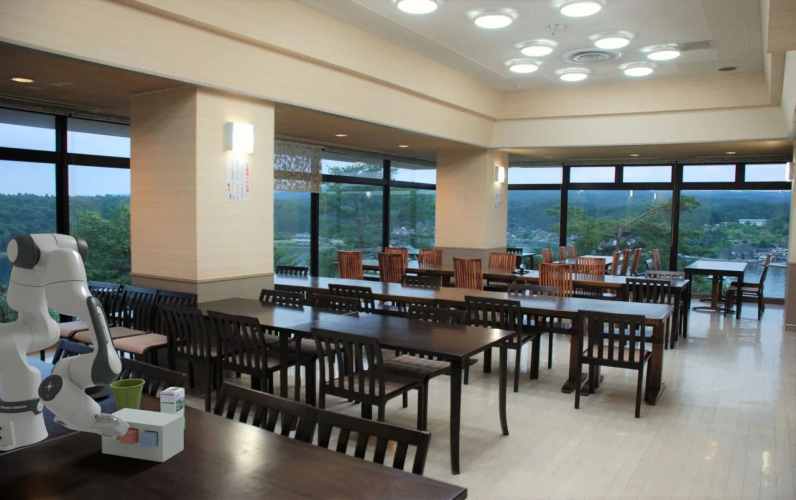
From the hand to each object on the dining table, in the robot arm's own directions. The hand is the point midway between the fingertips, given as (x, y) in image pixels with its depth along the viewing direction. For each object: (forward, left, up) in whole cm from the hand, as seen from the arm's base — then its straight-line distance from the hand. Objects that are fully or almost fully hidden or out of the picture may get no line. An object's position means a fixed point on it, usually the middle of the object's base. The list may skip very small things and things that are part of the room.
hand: (108, 434), depth 177 cm
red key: (+7, -2, -2) cm, 7 cm away
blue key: (+13, -4, -2) cm, 14 cm away
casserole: (-34, +61, -7) cm, 70 cm away
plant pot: (-9, +40, -7) cm, 41 cm away
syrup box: (+13, +21, -7) cm, 25 cm away
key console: (+9, +4, -7) cm, 12 cm away
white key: (+1, +2, -2) cm, 3 cm away
